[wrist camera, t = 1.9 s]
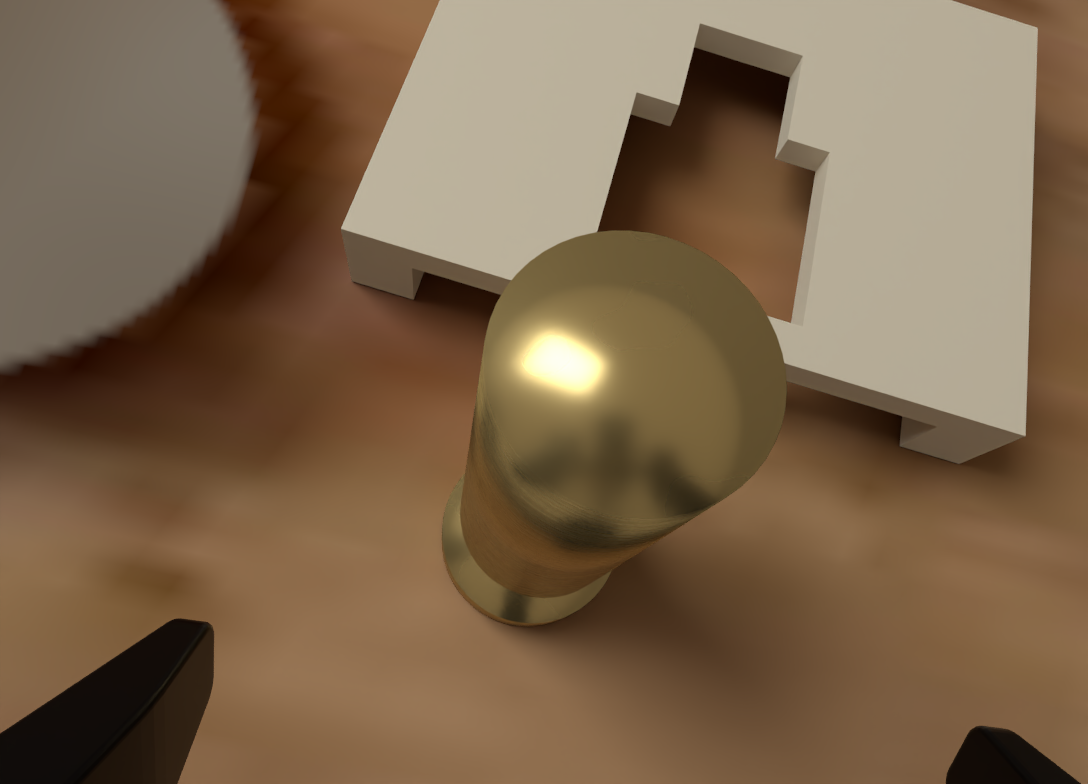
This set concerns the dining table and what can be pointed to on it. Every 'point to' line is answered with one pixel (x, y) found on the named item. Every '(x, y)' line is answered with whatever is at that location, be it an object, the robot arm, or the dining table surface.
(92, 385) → the dining table surface
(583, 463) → the brass peg
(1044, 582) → the dining table surface
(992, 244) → the keyhole plate
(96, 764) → the robot arm
